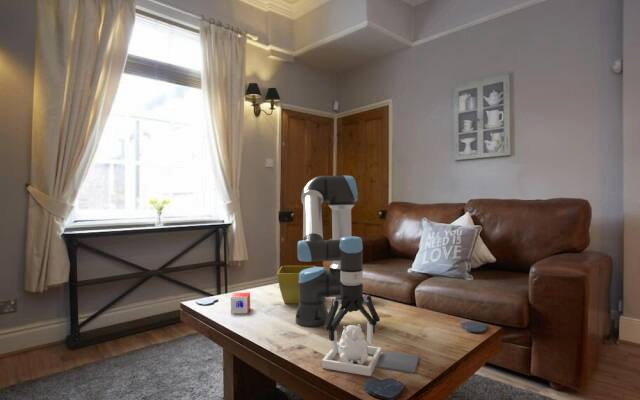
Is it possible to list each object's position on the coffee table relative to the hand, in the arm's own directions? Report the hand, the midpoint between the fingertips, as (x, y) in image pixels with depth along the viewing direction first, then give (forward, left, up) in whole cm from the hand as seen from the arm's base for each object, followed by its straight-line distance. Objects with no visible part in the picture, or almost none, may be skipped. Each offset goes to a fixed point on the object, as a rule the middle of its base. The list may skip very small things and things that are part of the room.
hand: (352, 346), depth 121 cm
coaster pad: (+14, +4, -5) cm, 16 cm away
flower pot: (-48, +59, -5) cm, 77 cm away
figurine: (0, 0, -5) cm, 5 cm away
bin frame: (0, 0, -5) cm, 5 cm away
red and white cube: (-67, +34, -5) cm, 76 cm away
